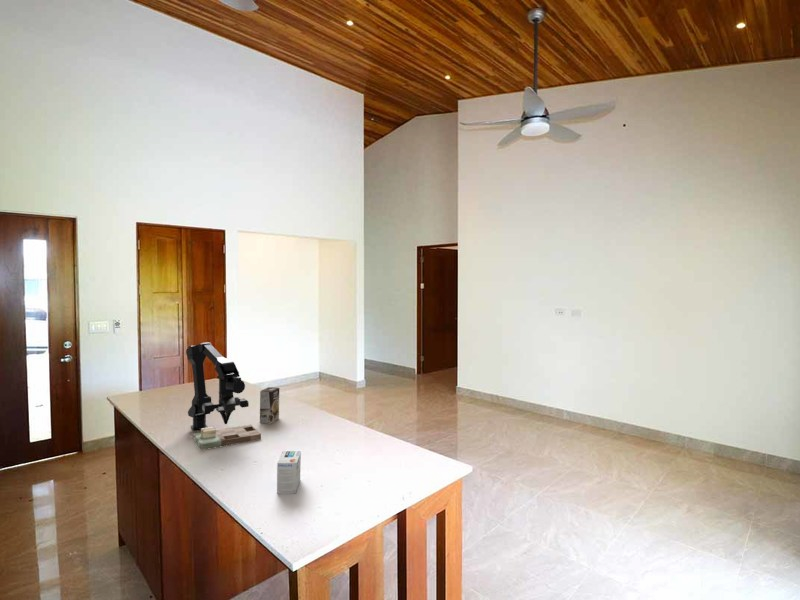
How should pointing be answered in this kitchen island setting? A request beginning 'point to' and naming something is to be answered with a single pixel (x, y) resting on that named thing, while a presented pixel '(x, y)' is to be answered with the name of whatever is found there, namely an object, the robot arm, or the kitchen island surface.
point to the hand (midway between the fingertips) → (225, 424)
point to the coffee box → (269, 405)
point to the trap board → (228, 437)
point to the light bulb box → (288, 472)
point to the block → (208, 432)
